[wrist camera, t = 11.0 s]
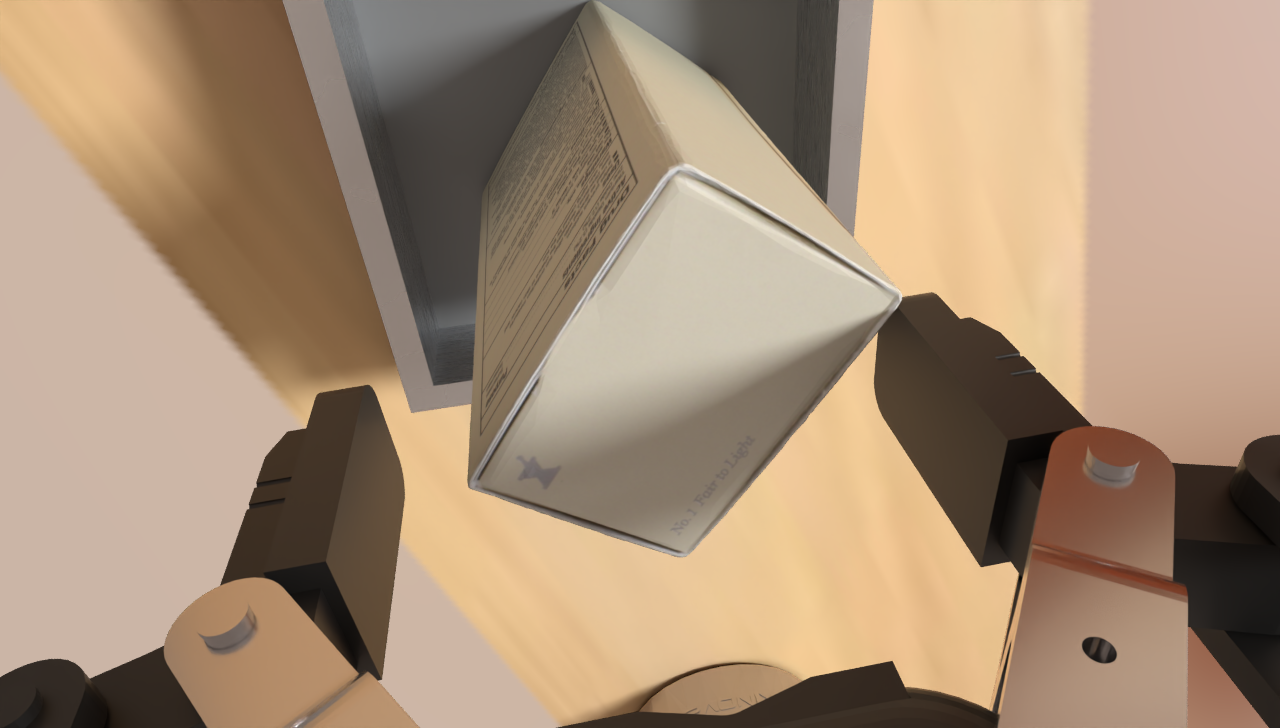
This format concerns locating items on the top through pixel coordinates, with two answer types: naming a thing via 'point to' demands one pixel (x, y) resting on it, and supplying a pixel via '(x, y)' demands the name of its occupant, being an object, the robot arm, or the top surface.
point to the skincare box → (652, 296)
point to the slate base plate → (505, 84)
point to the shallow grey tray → (377, 205)
